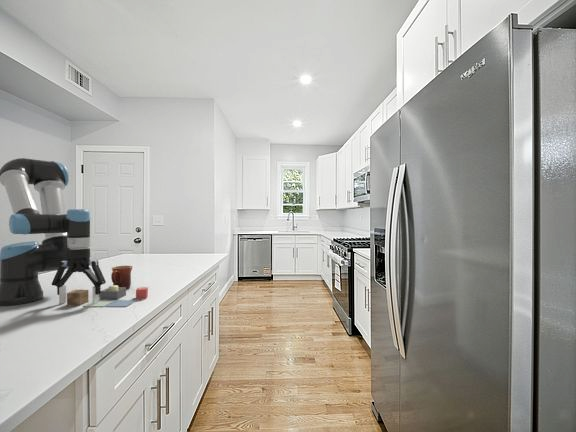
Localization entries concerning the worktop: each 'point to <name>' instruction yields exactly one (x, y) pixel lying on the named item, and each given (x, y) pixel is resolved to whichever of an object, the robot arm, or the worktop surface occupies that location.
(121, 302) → the tile
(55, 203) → the robot arm
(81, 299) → the tan wooden cuboid
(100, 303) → the tile
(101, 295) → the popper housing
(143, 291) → the die
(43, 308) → the worktop surface
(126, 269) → the mug
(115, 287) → the button
